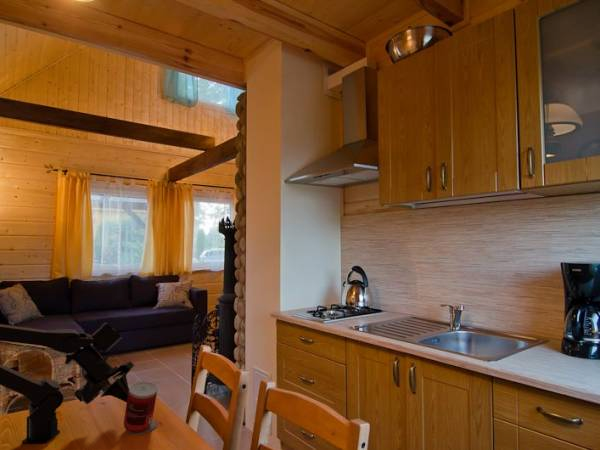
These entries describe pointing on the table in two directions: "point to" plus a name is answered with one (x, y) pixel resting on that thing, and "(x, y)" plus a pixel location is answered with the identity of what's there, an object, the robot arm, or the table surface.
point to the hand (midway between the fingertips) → (130, 401)
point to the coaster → (151, 428)
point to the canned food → (140, 406)
